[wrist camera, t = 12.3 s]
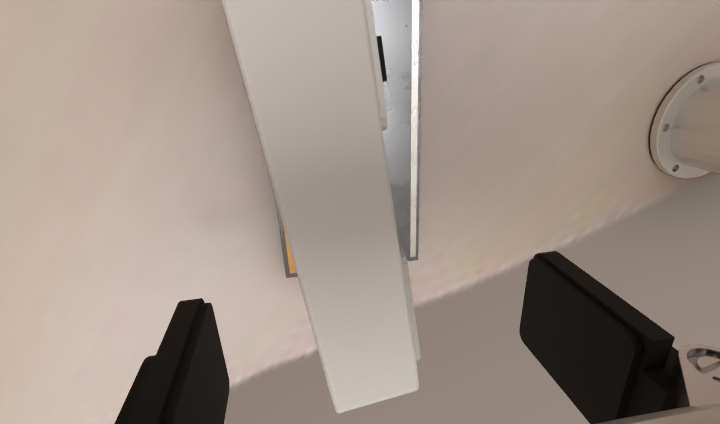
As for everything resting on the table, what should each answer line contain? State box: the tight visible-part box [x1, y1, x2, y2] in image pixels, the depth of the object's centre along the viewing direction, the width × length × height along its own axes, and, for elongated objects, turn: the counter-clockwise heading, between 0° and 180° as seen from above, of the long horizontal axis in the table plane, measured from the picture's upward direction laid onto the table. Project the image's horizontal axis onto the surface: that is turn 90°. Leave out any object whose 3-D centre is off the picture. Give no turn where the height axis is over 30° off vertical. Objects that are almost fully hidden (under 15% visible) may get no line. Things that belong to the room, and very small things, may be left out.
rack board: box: [276, 0, 422, 278], centre depth 36 cm, size 14×26×1 cm, turn 3°
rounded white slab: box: [221, 0, 421, 413], centre depth 27 cm, size 29×8×18 cm, turn 10°
